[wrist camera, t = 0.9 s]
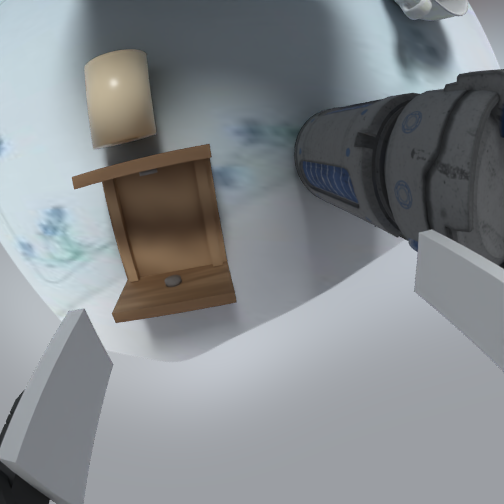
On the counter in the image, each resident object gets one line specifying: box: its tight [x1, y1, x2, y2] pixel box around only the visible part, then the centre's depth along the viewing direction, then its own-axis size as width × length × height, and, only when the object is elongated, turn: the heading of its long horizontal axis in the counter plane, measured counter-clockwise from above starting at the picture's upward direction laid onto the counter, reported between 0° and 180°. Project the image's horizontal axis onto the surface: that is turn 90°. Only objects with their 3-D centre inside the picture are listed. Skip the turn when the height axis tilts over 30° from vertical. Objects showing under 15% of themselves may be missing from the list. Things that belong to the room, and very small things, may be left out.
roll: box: [84, 49, 157, 149], centre depth 22 cm, size 8×6×6 cm
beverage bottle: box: [294, 69, 504, 269], centre depth 19 cm, size 10×13×25 cm
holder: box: [72, 144, 236, 323], centre depth 26 cm, size 13×11×8 cm
